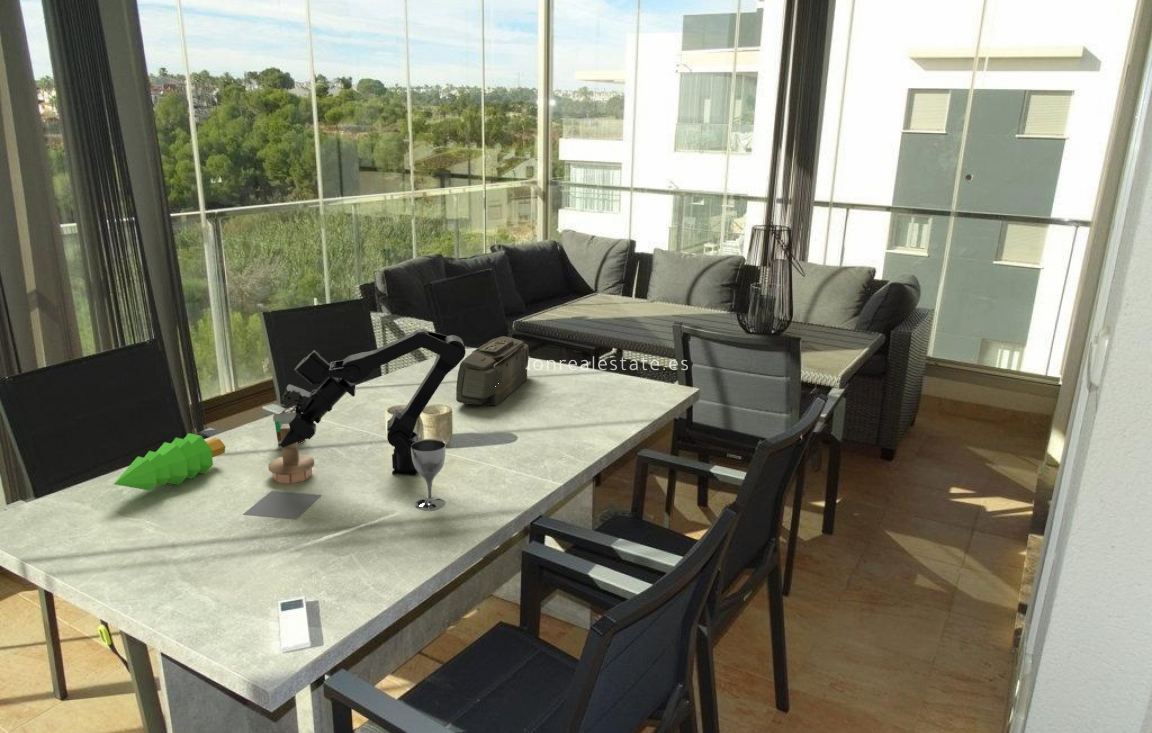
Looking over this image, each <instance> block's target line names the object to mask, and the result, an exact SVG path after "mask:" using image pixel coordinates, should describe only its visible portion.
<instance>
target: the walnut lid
mask: <svg viewBox="0 0 1152 733" xmlns="http://www.w3.org/2000/svg"><path fill="white" fill-rule="evenodd" d="M289 430H290V426H289V424H282V426H281V428H280V432H281V442H282V440H283V439H284V437H285V436H286V434H287V433H288V431H289ZM299 451H300V450H299V444H298V442H296V443H294V444H291V445H288V446H286V447H281V452H282V453H281V455H282V456H280V457H278V458H275V459H273V460H271V461H270V462H269V463H268V466H267V468H268V471H269V472H270V473H271V474H272V473H275V474H281V475H290V474H297V473H301V472H305V471H307V470H309V469H311V468H312V469H313V468H314V466H315V460H314V457H311V456H309V455H304V454H299V453H300V452H299Z"/></svg>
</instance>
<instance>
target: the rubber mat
mask: <svg viewBox="0 0 1152 733" xmlns="http://www.w3.org/2000/svg"><path fill="white" fill-rule="evenodd" d="M322 496H323V495H322V494H313V493H303V492H301V493H300V492H291V491H279V490H271V491H269V492H268V493H266V495H265V496H264V497H262V498H260V499H259V500H258V501H257V502H256V503H254V505H252V506H251V507H249V509H248V510H246V511H245V512H243V514H242V515H244V516H254V517H255V516H256V517H264V518H265V517H266V518H277V519H285V520H286V519H288V520H297V519H299V518H300V517H301V516H302V515H303V514H304V513H305V512H306V511H307V510H308V509H309V508H310V507H312V505H314V504H315V503H316V502H317V501H318V500H319V499H320V498H321V497H322Z"/></svg>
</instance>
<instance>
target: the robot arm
mask: <svg viewBox="0 0 1152 733" xmlns="http://www.w3.org/2000/svg"><path fill="white" fill-rule="evenodd" d="M421 348H422V349H425V350H428V351H429V352H432V353H434V354H436V357H435V360H434V362H433V365H432V366H431V368H430V370H429V371H428V372H427V374H426V375H425V377H424V379H423V380H422V382H421V383H420V385H418V388H417V390H416V391H415V392H414V394H413V396H412V397H411V399H410V400H409V401H408V403H407V404H406V406H405V408H404V409H402V410H401V411H398V410H397V409H395V410H394V412H393V414H392V415H391V416H392V417H390V418H389V419H388V420H387V424H386V425H387V426H386V427H387V428H386V439H387V443H389V445H390V446H392V447H393V453H392V454H391V461H392V462H391V464H392V466H391V467H392V471H391V473H392V474H393V475H404V476H417V475H418V474H419V473H418V472H417V471H416V469H415V467H414V465H413V461H412V455H411V445H412V443H414V442H416V441H419V435H418V434H417V433H416V432H415V428H416V424H417V422H418V419H419V417H420V415H421V414H422V413H423V411H424V410H425V408H426V407H427V405H428V403H429V402H430V400H431V399H432V398H433V395H434V394H435V392H436V391H437V389H438V388H439V387H440V385H441V383H442V381H444V379H445V377H446V376H447V375H448V374H449V373H450V372H451V371H453V370H454V369H455V368H456V367H457V366H458V365H460V364H461V362H462V361H463V360H464V359H465V356H466V352H467V351H466V347H465V345H464V341H463V340H462V338H461V337H460V336H458V335H453V334H451V335H445V334H442V333H438V332H434V331H433V332H432V331H430V330H426V329H424V328H417V329H416V330H415V331H413V332H412V333H409V334H407V335H405V336H402V337H400V338H398V339H396V340H393V341H391V342H390V343H387V344H385V345H383V346H381V347H379V348H377V349H374V350H370V351H363V352H359V353H355V354H351V355H348V356H347V357H345V358H344V359H342V360H335V361H334V360H333V361H330V363H329V362H328V361H327V360H326V358H324V357H322V355H320V353H319V352H318V351H316V350H312V352H311V353H309V354H307V356H305V357H304V358H303V359H302V360H300V362H299V363H298V364H297V365H296V367H295V368H294V371H295V372H296V373H297V374H298V375H299V376H301V378H303V379H304V380H306V381H307V382H308V383H309V384H310V385H312V386H313V385H315V386H317V385H320V384H321V385H320V386H319V387H318V388H316V389H312V391H311V392H310V391H308V390H306V389H303V388H301V387H298V386H295V385H293V384H287V386H286V389H285V391H284V394H283V396H282V398H281V401H282V402H284V403H287V404H288V403H289V404H292V405H293V406H294V405H296V414H295V415H294V416H293V418H292V419H291V420H290V422H289V426H290V430H289V431H288V433H287V434H286V436H285V437H284V439H283V440H282V442H281V443H280V446H279V447H281V448H282V447H286V446H288V445H291V444H294V443H296V442H299V441H302V440H305V441H306V440H311V439H312V438H313V437H314V436H315V435H316V432H317V424H319V423H320V422H321V421H322V418H324V416H325V415H326V414H327V413H330V412H331V411H332V410H333V407H334V406H335V405H336V404H337V403H338V402H339V401H340V400H341V399H342V398H343V397H344V396H345V395H346V393H348V394H349V395H350V396H351V397H355V396H356V386H357V385H356V383H359V382H361V381H362V380H363V379H366V377H368V376H369V375H371V374H372V373H374V371H375V370H377V369H378V368H380V367H381V366H383V365H386V364H388V363H390V362H392V361H395V360H397V359H399V358H400V357H403V356H406V355H408V354H410V353H412V352H414V351H416V350H420V349H421ZM327 377H328V378H327Z"/></svg>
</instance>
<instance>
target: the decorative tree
mask: <svg viewBox="0 0 1152 733" xmlns="http://www.w3.org/2000/svg"><path fill="white" fill-rule="evenodd" d="M225 453H226V445H225V444H224V442H223V441H222V439H220V438H217V437H214V438H212V439H209V440H207V441H206V439H204V437H203V436H202V435H198V434H195V433H187V434H186V436H185V437H184V438H179V437H175V438H174V439H173V441H172V442H171V443H170V442H166V441H165V442H163V443H162V445H161V446H160V447H159V448H158V449H157V450H156V451H152V450H148V452H147V453H146V454H145V456H144V457H142V456H137V457H136V458H135V459H134V460H133V461H132V462H131V464H130V465H129V466H127V468H126V469H125V471H124V472H123V473H122V474H121V475H120V476H119V477H118V479H117V480H115V482H114V483H113V485H115V486H122V487H126V488H128V487H129V488H133V489H139V490H145V491H152V489H153V488H154V487H155V485H158V486H165V485H166V484H167V483H168V484H173V485H177V486H180V485H181V484H182V483H183V482H184V480H186V479H187V478H188V479H191V480H194V478H195V477H196V476H197V475H198V474H203V475H204V474H207V472H208V471H209V470H210V469H211V468H212V466H213V465H214V462H213V461H214V460H213V458H215V457H217V456H221V455H222V454H223V455H224V454H225Z"/></svg>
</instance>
